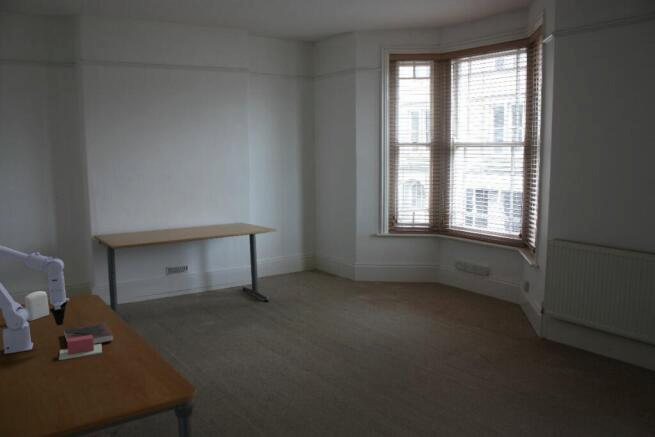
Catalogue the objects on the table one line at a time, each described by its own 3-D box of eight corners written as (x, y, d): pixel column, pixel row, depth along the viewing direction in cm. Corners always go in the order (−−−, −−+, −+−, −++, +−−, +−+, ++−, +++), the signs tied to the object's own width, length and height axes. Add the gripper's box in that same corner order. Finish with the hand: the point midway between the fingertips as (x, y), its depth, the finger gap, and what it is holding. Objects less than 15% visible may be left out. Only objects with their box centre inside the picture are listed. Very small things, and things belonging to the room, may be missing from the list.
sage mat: (59, 360, 213) (59, 358, 213) (60, 351, 223) (60, 349, 222) (102, 353, 219) (102, 351, 219) (101, 344, 228) (101, 343, 228)
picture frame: (64, 335, 242) (69, 349, 223) (63, 329, 241) (68, 342, 223) (105, 327, 250) (113, 340, 231) (105, 322, 249) (112, 334, 230)
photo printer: (31, 321, 262) (28, 295, 260) (25, 320, 264) (22, 294, 262) (51, 315, 271) (48, 289, 269) (45, 314, 273) (42, 288, 271)
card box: (93, 346, 224) (92, 334, 224) (93, 350, 220) (92, 338, 220) (68, 350, 221) (67, 338, 220) (68, 354, 217) (67, 342, 216)
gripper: (67, 292, 222) (70, 325, 224) (69, 283, 235) (72, 315, 237) (47, 294, 220) (50, 328, 221) (50, 285, 233) (53, 318, 235)
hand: (60, 322), depth 229 cm, fingers open, 7 cm apart
